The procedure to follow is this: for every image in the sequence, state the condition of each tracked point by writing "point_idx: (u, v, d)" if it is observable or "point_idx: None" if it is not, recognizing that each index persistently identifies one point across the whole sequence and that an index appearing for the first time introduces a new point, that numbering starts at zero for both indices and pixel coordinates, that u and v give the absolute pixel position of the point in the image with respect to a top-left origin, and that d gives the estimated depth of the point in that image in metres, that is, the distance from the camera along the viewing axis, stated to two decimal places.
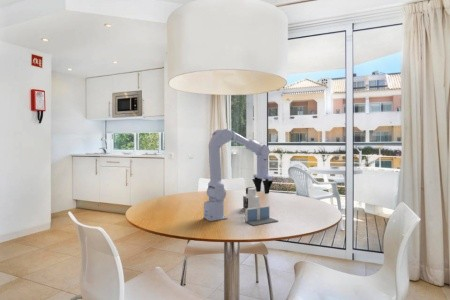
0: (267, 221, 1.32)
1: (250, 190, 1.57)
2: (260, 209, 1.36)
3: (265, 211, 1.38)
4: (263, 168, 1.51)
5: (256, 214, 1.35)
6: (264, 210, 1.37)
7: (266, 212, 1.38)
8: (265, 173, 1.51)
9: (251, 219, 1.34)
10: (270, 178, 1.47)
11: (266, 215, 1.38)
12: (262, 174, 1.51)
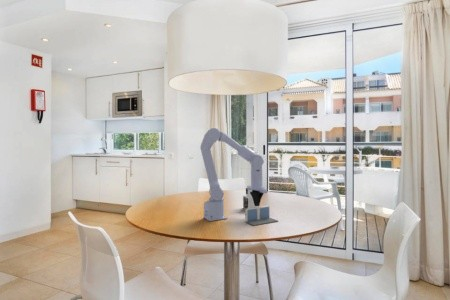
0: (267, 221, 1.32)
1: (250, 190, 1.57)
2: (260, 209, 1.36)
3: (265, 211, 1.38)
4: (257, 180, 1.40)
5: (256, 214, 1.35)
6: (264, 210, 1.37)
7: (266, 212, 1.38)
8: (260, 185, 1.40)
9: (251, 219, 1.34)
10: (265, 191, 1.36)
11: (266, 215, 1.38)
12: (256, 186, 1.40)
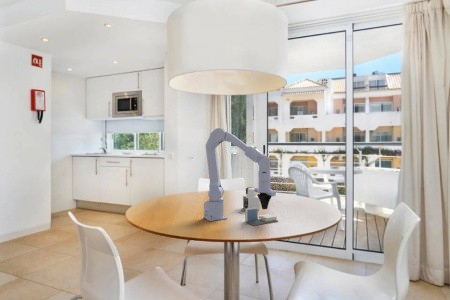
0: (267, 221, 1.32)
1: (250, 190, 1.57)
2: None
3: None
4: (265, 182, 1.34)
5: (256, 214, 1.35)
6: None
7: None
8: (268, 187, 1.34)
9: (251, 219, 1.34)
10: (273, 193, 1.31)
11: None
12: (264, 188, 1.34)
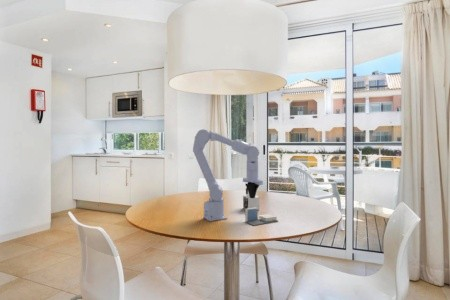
0: (267, 221, 1.32)
1: None
2: None
3: None
4: (253, 171, 1.38)
5: (256, 214, 1.35)
6: None
7: None
8: (255, 177, 1.38)
9: (251, 219, 1.34)
10: (260, 182, 1.34)
11: None
12: (252, 178, 1.38)
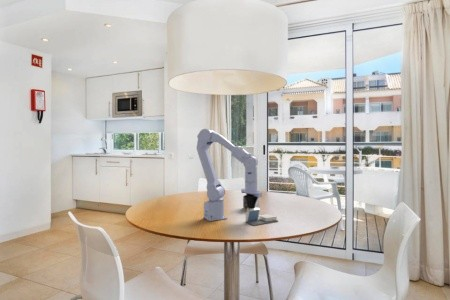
0: (267, 221, 1.32)
1: None
2: None
3: None
4: (252, 183, 1.32)
5: (257, 215, 1.34)
6: None
7: None
8: (254, 188, 1.32)
9: (251, 219, 1.33)
10: (259, 194, 1.28)
11: None
12: (251, 189, 1.32)
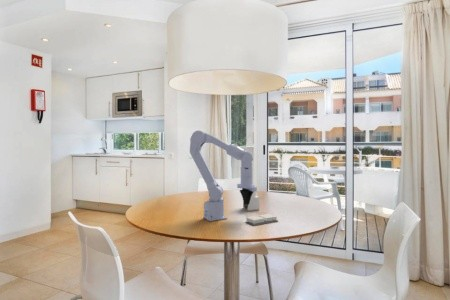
0: (267, 221, 1.32)
1: None
2: None
3: None
4: (247, 177, 1.36)
5: None
6: None
7: None
8: (249, 183, 1.37)
9: None
10: (254, 189, 1.33)
11: None
12: (246, 184, 1.36)
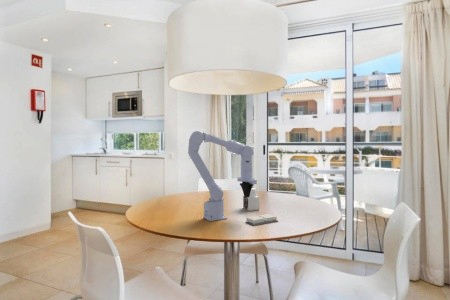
0: (267, 221, 1.32)
1: None
2: None
3: None
4: (247, 171, 1.39)
5: None
6: None
7: None
8: (249, 176, 1.39)
9: None
10: (254, 182, 1.35)
11: None
12: (246, 177, 1.39)
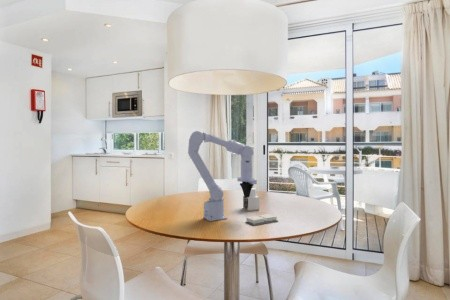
0: (267, 221, 1.32)
1: None
2: None
3: None
4: (247, 171, 1.39)
5: None
6: None
7: None
8: (249, 176, 1.39)
9: None
10: (254, 182, 1.35)
11: None
12: (246, 177, 1.39)
